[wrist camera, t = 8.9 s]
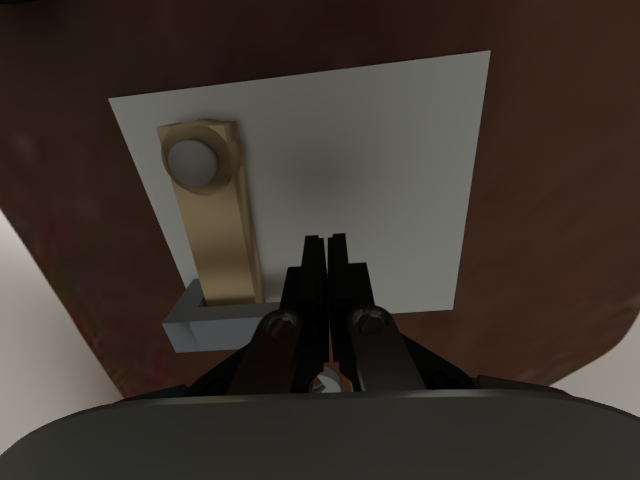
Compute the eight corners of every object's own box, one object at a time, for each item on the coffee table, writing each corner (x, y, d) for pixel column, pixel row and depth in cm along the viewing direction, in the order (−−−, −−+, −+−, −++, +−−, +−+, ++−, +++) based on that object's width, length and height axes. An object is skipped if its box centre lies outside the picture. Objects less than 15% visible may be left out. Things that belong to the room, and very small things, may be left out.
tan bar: (172, 119, 18) (141, 125, 15) (238, 117, 18) (220, 122, 15) (223, 317, 26) (209, 347, 23) (269, 317, 26) (262, 347, 23)
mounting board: (116, 98, 19) (30, 101, 14) (483, 52, 17) (556, 34, 12) (204, 319, 28) (174, 374, 23) (449, 303, 27) (480, 358, 21)
